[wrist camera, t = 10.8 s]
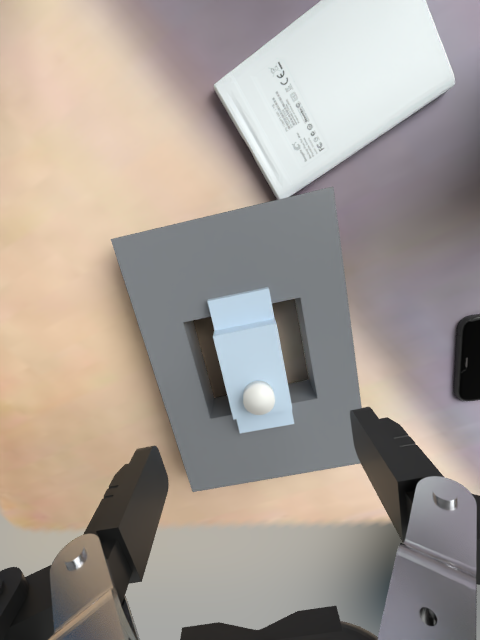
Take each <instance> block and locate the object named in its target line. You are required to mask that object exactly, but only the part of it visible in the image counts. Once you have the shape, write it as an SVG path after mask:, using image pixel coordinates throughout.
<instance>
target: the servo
mask: <svg viewBox="0 0 480 640" xmlns="http://www.w3.org/2000/svg"><path fill="white" fill-rule="evenodd" d="M207 302H208V306H209V310H210V314H211V318H212V322H213V326H214V330H215V331H214V334H213V339H214V343H215V347H216V351H217V355H218V359H219V363H220V367H221V371H222V376H223V380H224V384H225V388H226V392H227V396H228V400H229V404H230V408H231V412H232V416H233V420H234V419H236V420H237V424H238V428H239V432H240V433H245V432H251V431H257V430H263V429H268V428H274V427H280V426H285V425H291V424H294V419H293V414H292V403H291V398H290V393H289V387H288V382H287V377H286V371H285V366H284V361H283V355H282V350H281V345H280V339H279V334H278V328H277V323H276V321H275V318H274V313H273V307H272V302H271V297H270V292H269V288H268V287H266V288H262V289H257V290H252V291H247V292H242V293H238V294H233V295H228V296H223V297H218V298H213V299H209V300H208V301H207Z"/></svg>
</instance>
